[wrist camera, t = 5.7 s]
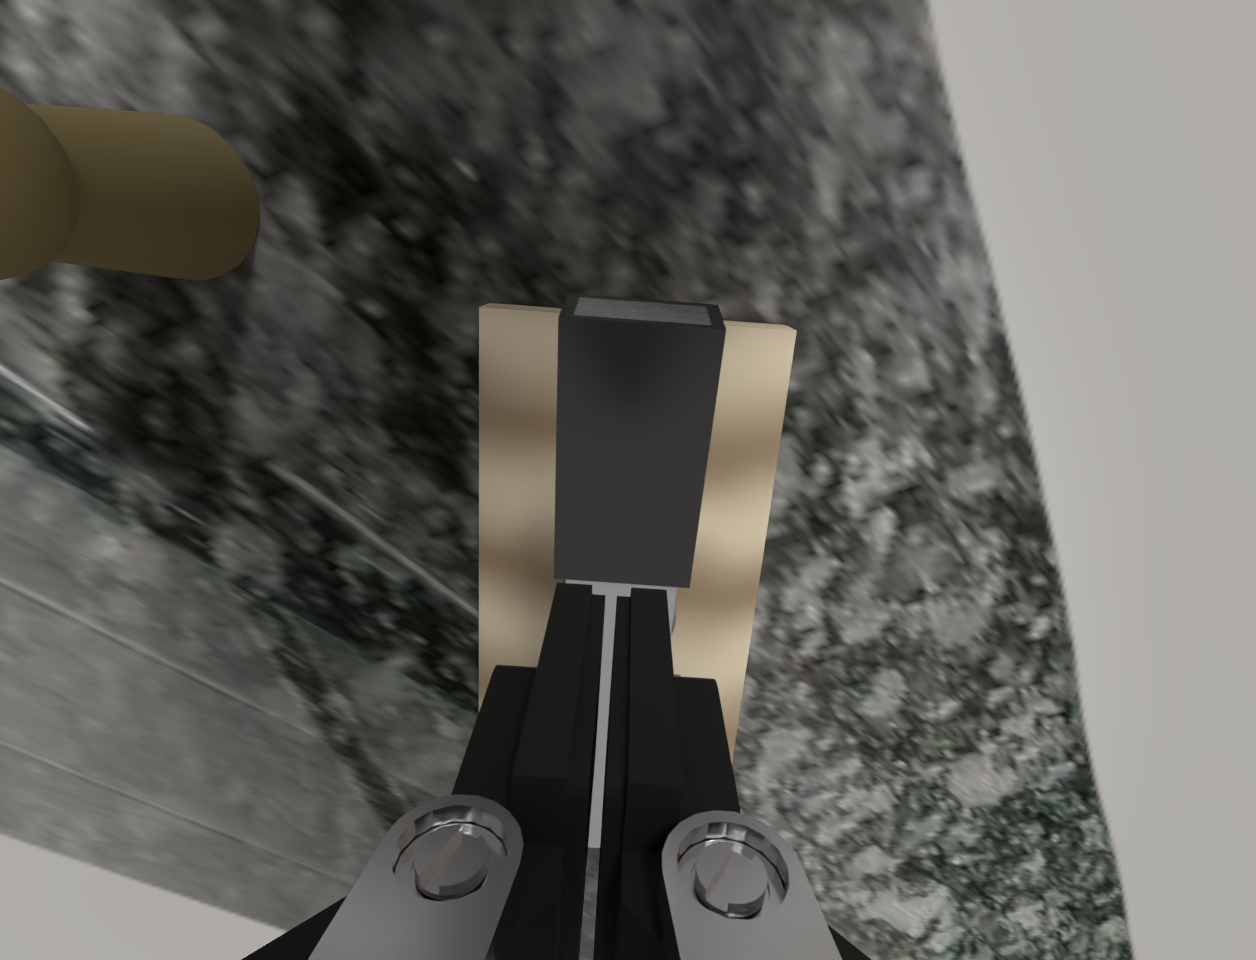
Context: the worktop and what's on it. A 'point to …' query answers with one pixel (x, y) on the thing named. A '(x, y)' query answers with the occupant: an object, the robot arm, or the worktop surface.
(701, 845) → the robot arm
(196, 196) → the cork
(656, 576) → the lever
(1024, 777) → the worktop surface
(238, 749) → the worktop surface
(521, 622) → the nutcracker base
